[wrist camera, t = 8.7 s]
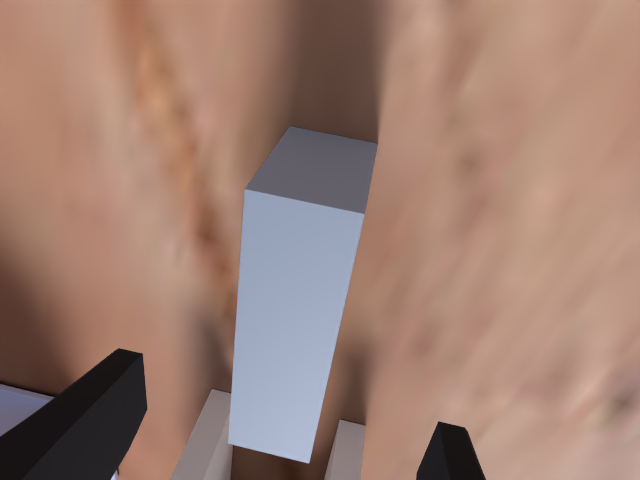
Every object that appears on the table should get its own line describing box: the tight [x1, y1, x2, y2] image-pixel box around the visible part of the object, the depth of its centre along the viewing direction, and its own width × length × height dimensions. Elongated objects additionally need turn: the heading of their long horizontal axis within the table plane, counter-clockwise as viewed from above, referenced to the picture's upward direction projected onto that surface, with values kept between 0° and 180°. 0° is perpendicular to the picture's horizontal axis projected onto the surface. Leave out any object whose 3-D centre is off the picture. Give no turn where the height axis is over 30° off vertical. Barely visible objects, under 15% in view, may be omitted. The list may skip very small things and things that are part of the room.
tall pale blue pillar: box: [228, 126, 378, 463], centre depth 19 cm, size 4×12×6 cm, turn 172°
